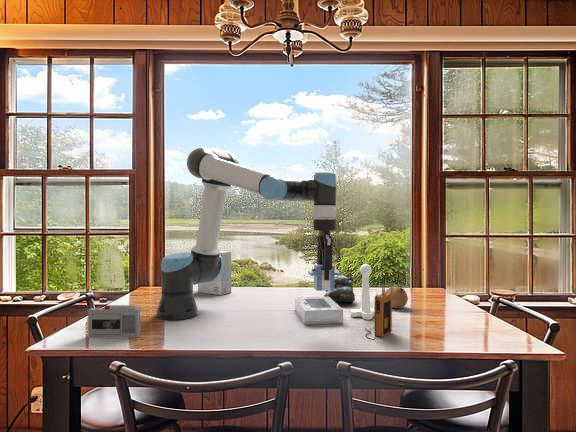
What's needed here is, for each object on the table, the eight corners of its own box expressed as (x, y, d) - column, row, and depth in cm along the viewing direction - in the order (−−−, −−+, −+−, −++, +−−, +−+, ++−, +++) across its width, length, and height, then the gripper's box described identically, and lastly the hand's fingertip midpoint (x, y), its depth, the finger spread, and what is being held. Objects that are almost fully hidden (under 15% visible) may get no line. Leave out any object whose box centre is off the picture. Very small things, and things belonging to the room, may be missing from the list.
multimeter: (370, 325, 152) (370, 268, 151) (396, 330, 145) (397, 271, 145) (348, 334, 140) (349, 273, 140) (376, 340, 134) (376, 277, 133)
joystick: (378, 314, 166) (378, 263, 166) (383, 319, 159) (384, 265, 158) (349, 314, 166) (350, 263, 165) (353, 320, 158) (354, 266, 158)
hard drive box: (232, 293, 206) (232, 251, 206) (221, 295, 200) (221, 253, 199) (207, 289, 214) (207, 249, 214) (197, 292, 208) (196, 251, 207)
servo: (310, 290, 140) (310, 264, 140) (308, 288, 145) (308, 262, 145) (340, 290, 142) (340, 263, 142) (337, 287, 146) (337, 261, 146)
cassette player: (88, 337, 136) (88, 306, 136) (91, 335, 139) (91, 304, 139) (137, 337, 137) (137, 306, 136) (140, 335, 139) (140, 304, 139)
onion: (404, 316, 175) (413, 296, 171) (382, 310, 175) (390, 290, 171) (400, 303, 184) (409, 284, 180) (379, 297, 184) (388, 278, 180)
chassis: (304, 324, 152) (304, 310, 152) (294, 309, 173) (294, 297, 173) (343, 323, 154) (343, 309, 154) (328, 308, 175) (328, 296, 175)
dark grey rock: (316, 303, 185) (317, 272, 191) (332, 309, 193) (332, 280, 199) (346, 297, 176) (345, 265, 183) (361, 304, 184) (360, 274, 190)
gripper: (342, 219, 135) (341, 293, 135) (329, 217, 152) (329, 283, 153) (319, 219, 134) (318, 293, 134) (308, 217, 151) (308, 283, 152)
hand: (324, 288), depth 143 cm, fingers closed on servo, 4 cm apart
